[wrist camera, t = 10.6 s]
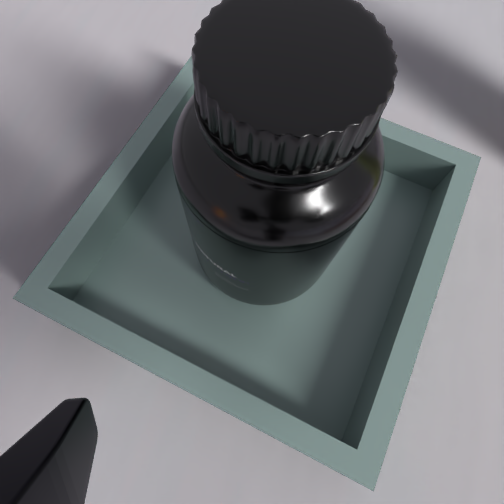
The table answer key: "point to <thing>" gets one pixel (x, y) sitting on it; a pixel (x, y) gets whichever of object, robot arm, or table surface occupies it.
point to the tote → (268, 316)
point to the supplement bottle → (281, 140)
